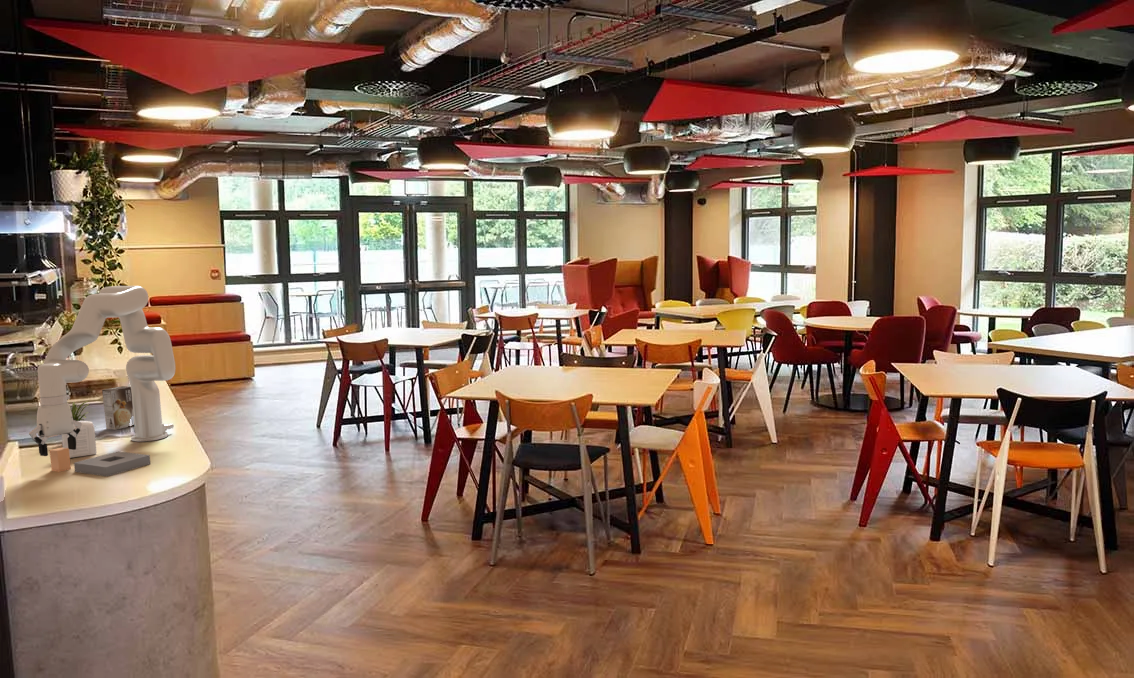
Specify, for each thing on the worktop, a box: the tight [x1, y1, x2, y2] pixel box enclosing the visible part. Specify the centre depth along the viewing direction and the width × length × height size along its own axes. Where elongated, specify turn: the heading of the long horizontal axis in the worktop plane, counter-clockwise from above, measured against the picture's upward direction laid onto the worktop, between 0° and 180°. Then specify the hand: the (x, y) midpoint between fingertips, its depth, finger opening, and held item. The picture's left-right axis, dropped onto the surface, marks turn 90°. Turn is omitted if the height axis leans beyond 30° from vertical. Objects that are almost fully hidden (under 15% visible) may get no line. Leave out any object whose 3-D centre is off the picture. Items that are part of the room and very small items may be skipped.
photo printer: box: [61, 420, 98, 459], centre depth 312 cm, size 10×4×12 cm, turn 123°
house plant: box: [70, 400, 90, 421], centre depth 334 cm, size 14×14×16 cm
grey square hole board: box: [73, 450, 151, 477], centre depth 294 cm, size 16×16×3 cm
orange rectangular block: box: [49, 446, 72, 473], centre depth 293 cm, size 4×4×7 cm
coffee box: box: [101, 385, 134, 431], centre depth 359 cm, size 9×6×16 cm
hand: (58, 452), depth 292 cm, fingers open, 9 cm apart
